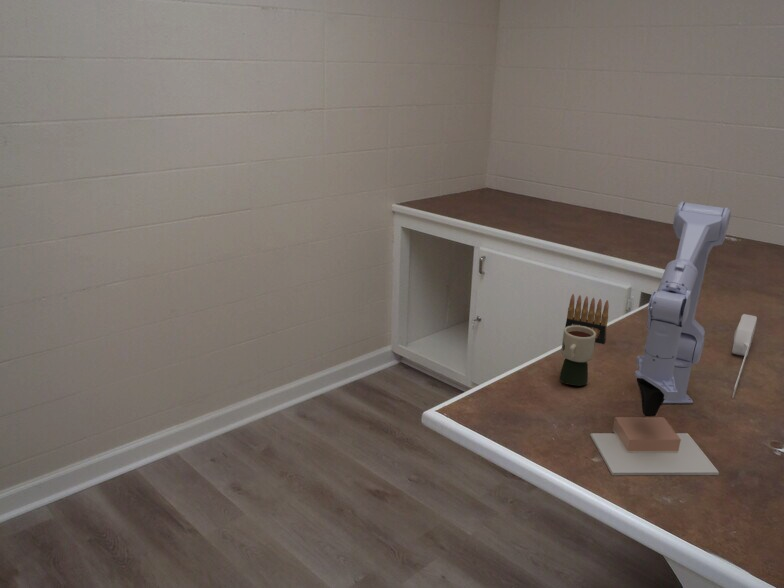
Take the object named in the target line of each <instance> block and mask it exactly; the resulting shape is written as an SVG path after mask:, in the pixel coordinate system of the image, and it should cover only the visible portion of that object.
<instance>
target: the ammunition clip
mask: <svg viewBox="0 0 784 588" xmlns="http://www.w3.org/2000/svg"><path fill="white" fill-rule="evenodd" d="M583 301H584V302H583V303H582V296H581V294H580V295H578V298H577V300H576V305H575V294H574V293H572V294H571V297H570V300H569V304H568V305H569V306H568V308H567V317H566V321H565V327H567V326H573V325H577V326H585V327H588V328H591V329H592V330H594V331H595V332H596V337H595V343H596V344H601V345H605V344H606V340H607V329H608V320H609V308H610V307H609V305H610V304H609V300H606V301H605V303H604V306H603V305H602V299H601V298H599V300H598V302H597V306H596V300H595V297H592V298H591V301H590V305H589V298H588V296H585V298H584V300H583ZM582 304H583V305H582ZM602 306H603V307H602ZM595 307H596V308H595ZM602 308H603V310H602ZM588 309H589V310H588ZM565 327H564V328H565Z"/></svg>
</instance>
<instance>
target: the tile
mask: <svg viewBox="0 0 784 588" xmlns="http://www.w3.org/2000/svg"><path fill="white" fill-rule="evenodd" d="M612 431H613V433H615V434H616V436H617V437H618V439H619V440H620V442H621V444H622V445H623V447H624V449H625V450H626V452H627V453H678V451H679V446H680V441H681V439H680V438H679V436H678V435H677V434H676V431H675V430H674V428H673V427H672V426H671V424H670V423H669V422H668V421H667V420H666V419H665V417H664V416H658V417H656V416H643V417H640V416H638V417H637V416H635V417H633V416H632V417H631V416H624V417H623V416H619V417H618V416H615V417H614V423H613V427H612Z"/></svg>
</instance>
